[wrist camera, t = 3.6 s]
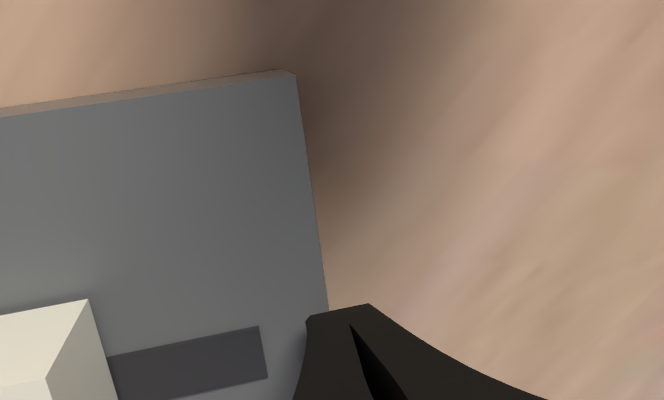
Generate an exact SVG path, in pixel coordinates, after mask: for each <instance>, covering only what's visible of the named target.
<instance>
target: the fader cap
mask: <svg viewBox="0 0 664 400" xmlns="http://www.w3.org/2000/svg"><path fill="white" fill-rule="evenodd" d="M0 400H118V397H117V394H116V391H115V387H114V384H113V381H112V377H111V374H110V371H109V367H108V364H107V360H106V357H105V354H104V350H103V347H102V344H101V340H100V337H99V334H98V330H97V327H96V324H95V320H94V317H93V313H92V310H91V307H90V303H89V300H88V299H84V300H79V301H74V302H68V303H63V304H58V305H53V306H48V307H42V308H37V309H32V310H27V311H22V312H16V313H11V314H6V315H1V316H0Z"/></svg>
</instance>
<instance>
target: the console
mask: <svg viewBox="0 0 664 400" xmlns="http://www.w3.org/2000/svg"><path fill="white" fill-rule="evenodd" d="M84 299H88V300H89V303H90V307H91V310H92V313H93V317H94V320H95V324H96V327H97V330H98V334H99V337H100V340H101V344H102V347H103V350H104V354H105V357H106V360H107V364H108V367H109V371H110V374H111V377H112V381H113V384H114V387H115V391H116V394H117V397H118V400H292V399H293V396H294V393H295V390H296V386H297V383H298V380H299V376H300V372H301V368H302V363H303V358H304V354H305V347H306V338H307V331H306V324H305V321H306V320H307V318H308V317H309V316H310V315H314V314H319V313H324V312H328V311H329V306H328V299H327V292H326V285H325V278H324V271H323V264H322V257H321V250H320V243H319V236H318V229H317V222H316V215H315V208H314V201H313V194H312V186H311V179H310V172H309V165H308V158H307V151H306V144H305V137H304V130H303V123H302V116H301V109H300V102H299V95H298V88H297V81H296V75H294V74H292V73H290V72H288V71H286V70H284V69H276V70H269V71H262V72H255V73H248V74H241V75H234V76H227V77H219V78H212V79H205V80H198V81H191V82H184V83H177V84H170V85H162V86H155V87H148V88H141V89H134V90H127V91H120V92H113V93H105V94H98V95H91V96H84V97H77V98H70V99H63V100H56V101H48V102H41V103H34V104H27V105H20V106H13V107H6V108H0V316H1V315H6V314H11V313H16V312H22V311H27V310H32V309H37V308H42V307H48V306H53V305H58V304H63V303H68V302H74V301H79V300H84Z"/></svg>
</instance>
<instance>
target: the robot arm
mask: <svg viewBox="0 0 664 400" xmlns="http://www.w3.org/2000/svg"><path fill="white" fill-rule="evenodd" d="M305 324H306V331H307V338H306V347H305V354H304V358H303V363H302V368H301V372H300V376H299V380H298V383H297V386H296V390H295V393H294V396H293V399H292V400H547V399H544V398H541V397H538V396H535V395H533V394H530V393H527V392H525V391H522V390H519V389H517V388H514V387H512V386H510V385H507V384H505V383H503V382H501V381H498V380H496V379H494V378H491V377H489V376H487V375H485V374H482V373H480V372H478V371H476V370H474V369H472V368H470V367H468V366H466V365H464V364H463V363H461V362H459V361H457V360H455V359H453V358H452V357H450V356H448V355H446V354H444V353H442V352H441V351H439V350H437V349H436V348H434V347H432V346H431V345H429V344H427V343H426V342H424V341H423V340H421V339H419V338H418V337H416V336H415V335H413V334H412V333H410V332H409V331H407V330H406V329H404V328H403V327H401V326H400V325H399V324H397V323H396V322H394V321H393V320H391V319H390V318H389V317H387V316H386V315H384V314H383V313H382V312H380V311H379V310H377V309H376V308H375V307H373V306H372V305H370V304H369V303H367V304H363V305H358V306H353V307H348V308H343V309H338V310H333V311H328V312H324V313H319V314H314V315H310V316H309V317H308V318H307V320H306V321H305Z"/></svg>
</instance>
